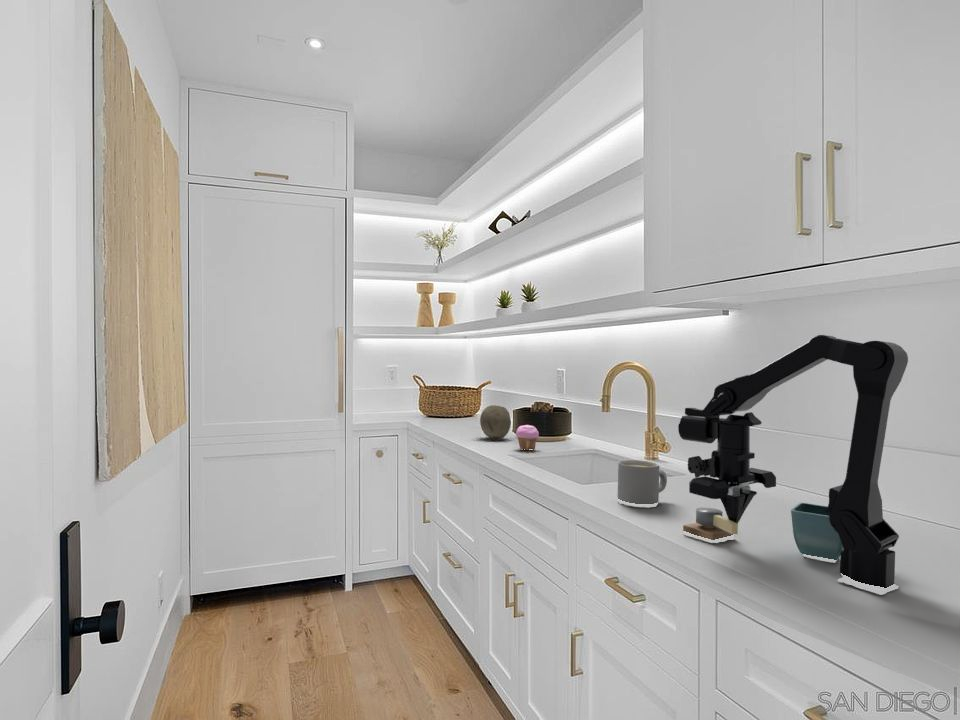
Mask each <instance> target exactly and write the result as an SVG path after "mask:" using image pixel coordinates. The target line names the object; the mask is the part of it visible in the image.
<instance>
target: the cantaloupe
mask: <svg viewBox="0 0 960 720" xmlns="http://www.w3.org/2000/svg"><path fill="white" fill-rule="evenodd" d="M479 424H480V429H481V430H482V432H483V434H484V435H485V436H486V437H488V438H489V439H491V440H493V439H494V440H493V441H499V440H498V439H500V440H502V439H503V438H505V437H506V436H507V435H508V433H509V431H510V429H511V426H512V420H511V416H510V412H509V411H508V409H507V408H506V407H504V406H501V405H489V406H486V407H485V408H484V409H483V410H482V412H481V415H480V418H479Z"/></svg>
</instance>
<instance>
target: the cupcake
mask: <svg viewBox="0 0 960 720" xmlns="http://www.w3.org/2000/svg"><path fill="white" fill-rule="evenodd" d="M539 436H540V433H539V431H538V429H537V428H536V426H534V425H530V424H524V425H520V426H518V427H517V428H516V432H515V437H517V441H518V445H519V449H520V450H521V449H525V450H529V449H534V450H535V449H536V444H537V439H538V438H539ZM525 450H524V451H525ZM529 451H530V450H529Z"/></svg>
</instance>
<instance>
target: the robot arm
mask: <svg viewBox="0 0 960 720" xmlns="http://www.w3.org/2000/svg"><path fill="white" fill-rule="evenodd" d="M826 361H832V362H837V363H840V364H843V365H847V366H852V368H853V369H852V371H853V373H852V374H853V380H854V383H855V387H856V388H855V389H856V391H857V401H856V407H855V408H856V409H855V413H854V419H853V420H854V422H853V428H852V433H851V440H850V446H849V455H848V462H847V467H846V474H845V479H844V481H843V483H842V484H841V485H837V486H834V487H831V488H829V489H828V505H827V506H828V507H827V509H826V510H825V512H826V513H828V512H830V513H829V522H830V525H831V526H832V527H833V528H834V529H835V531H836V532H838V534H839V537H840V540H841V543H842V545H843V548H844V550H843V551H841V554H840V557H839V558H840V560H839V561H840V563H839V574H840V573H842V574H843V575H846V576H848V577H850V578H851V579H853V580H855V581H858V582H861V583H865V584H869V585H874V586H880V587H884V588H887V587H889V586H891V585H893V584H895V577H896V576H895V571H896V570H895V569H896V567H895V566H896V551H894V550H891V548H893V547H895V546H896V545H897V541H898V540H899V538H900V535H899V534H898V533H897V532H896V531H895V530H894V528H893V527H892V526H891V525H890V524H889V523H888V522H887V521H886V520H885V519H884V516H883V515H884V513H883V512H884V511H883V499H882V496H881V492H880V488H879V477H880V476H879V474H880V469H881V462H882V457H883V451H884V444H885V438H886V432H887V431H886V429H887V426H888V419H889V412H890V407H891V401H892V397H893V396H894V394H895V393H896V390H897V389H898V387H899V385H900V384H901V382H902V379H903V378H904V377H903V376H904V374H905V371H906V369H907V367H908V362H909V355H908V353H907V351H905V349H904V348H903V347H902V346H900V345H899V344H897V343H895V342H890V341H882V340H871V341H870V340H869V341H867V342H864V343H862V342H858V341H857V342H856V341H852V340H848V339H847V340H846V339H841V338H837V337H835V336H833V335H826V334H818V335H814V336H813V337H812V338H811V339H810V340H809V341H807V342H805V343H803V344H802V345H800V346H798V347H796V348H795V349H793V350H791V351H790V352H788V353H786V354H785V355H783V356H781V357H779V358H777V359H775V360H773V361H772V362H770V363H769V364H767V365H765V366H763V367H762V368H760V369H758V370H756V371H754V372H751V373H749V374H745V375H742V376H739V377H736V378H732V379H730V380H726V381H723V382H720V384H718V385H717V386H716V387H715V388H714V392H713V396H712V398H711V399H710V401H709V402H708V403H707V404H706V406H705V407H704V408H703V409H702V408H701V409H700V408H696V407H685V408H684V414H683V415H682V416H681V418H680V421H679V423H678V434H679V436H680V438H681V439H682V441H683V440H684V441H689V442H696V443H704V444H713V443H714V442H715V441H716V440H717V449H716V450H712V452H711V455H710V456H711V458H705V459H702V457H701V456H700V455H694V456H692V457H688V458H687V470H688V472H689V473H690V474H694V478H692V479H690V481H689V482H688V483H689V484H688V485H689V487H688V489H689V493H690V494H693V495H697V496H701V497H704V498H707V499H710V500H718V499H719V500H720V501H721V503H722V505H723V508H724V510H725V514H726V516H727V519H729V520H731V521H733V522H736V523H738V524H739V523H740V521H741V519H742V516H743V515H744V513H745V511H746V509H747V507H748V506H749V504H750V503H751V502H752V500H753V498H754V496H756V495H757V494H758V492H757V491H754V490H751V486H750V485H753V484H757V483H758V484H762V485H763V486H764V488H765V489H771V488H775V487H777V477H776V475H775V474H774V472H773V471H771V470H765V469H760V468H755V467H750V464H751V463H750V460H751V459H755V452H751V451H750V446H751V443H750V441H751V439H750V437H751V435H750V433H751V432H750V431H751V429H750V427H756V426H759V425H762V423H763V422H762V420H760V419H759V418H758V417H756V415H755V414H754V413H753V412H752V411H751V412H746V411H748V410H751V409H752V408H753V407H754V406H756V405H757V404H758V403H760V402H761V401H762V400H763V399H764V398H765V397H766V396H767V394H769V392H771V391H773V389H776V388H778V387H779V386H781V385H783V384H785V383H787V382H789V381H790V380H792V379H795V378H796V377H798V376H800V375H802V374H804V373H806V372H807V371H809V370H811V369H812V368H814V367H816V366H819V365H820V364H822V363H824V362H826ZM736 412H738V413H739V412H746V413H744V414H743V415H742V414H741V415H738V414H735V413H736ZM721 416H727V417H726V418H722V417H721Z"/></svg>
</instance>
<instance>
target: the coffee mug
mask: <svg viewBox="0 0 960 720" xmlns="http://www.w3.org/2000/svg"><path fill="white" fill-rule="evenodd" d="M617 467H618V469H617V471H618V472H617V495H616V496H617V497H618V499H620V500H622V501H625V502H629V503H635V504H654V503H657V502H658V503H659V498H660V497H659V495H660V494H659V493H662V492H663V491H664V490H665V488H666V487H667V485H668V484H667V483H668V477H667V473H666V472H665V471H664V470H663V469H661V468H660V464H659V463H657V462H654V461H649V460H640V459H623V460H619V461H618V466H617Z"/></svg>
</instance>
